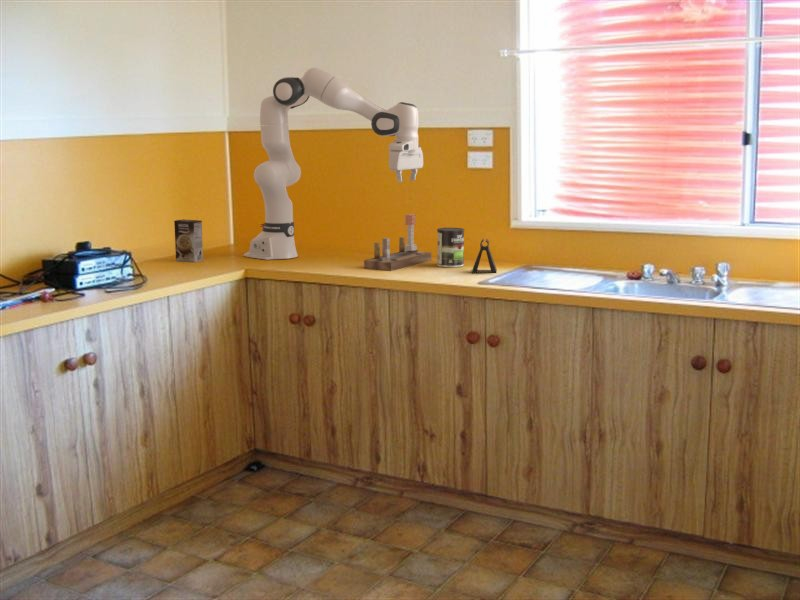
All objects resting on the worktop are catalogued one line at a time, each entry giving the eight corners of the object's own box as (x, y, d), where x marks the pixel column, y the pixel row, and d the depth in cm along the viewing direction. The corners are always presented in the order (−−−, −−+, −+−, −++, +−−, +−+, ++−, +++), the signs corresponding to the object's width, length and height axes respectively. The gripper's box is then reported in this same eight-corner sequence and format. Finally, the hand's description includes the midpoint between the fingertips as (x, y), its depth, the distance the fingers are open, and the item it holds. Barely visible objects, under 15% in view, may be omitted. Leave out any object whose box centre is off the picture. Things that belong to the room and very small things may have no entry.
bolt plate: (364, 268, 371) (364, 239, 369) (405, 257, 396) (405, 230, 394) (391, 270, 365) (391, 241, 363) (431, 260, 390) (431, 232, 388)
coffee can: (469, 265, 376) (469, 229, 373) (450, 268, 370) (450, 231, 367) (450, 262, 384) (451, 226, 381) (431, 265, 377) (431, 228, 374)
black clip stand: (496, 271, 364) (497, 238, 362) (496, 273, 358) (496, 241, 356) (472, 270, 365) (472, 238, 363) (471, 273, 359) (471, 240, 357)
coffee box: (175, 261, 389) (173, 220, 386) (184, 258, 395) (182, 218, 392) (194, 262, 386) (193, 221, 383) (203, 260, 392) (202, 219, 389)
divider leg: (404, 250, 386) (404, 214, 384) (409, 249, 390) (409, 213, 387) (411, 251, 385) (411, 215, 382) (416, 249, 388) (416, 214, 385)
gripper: (413, 144, 391) (413, 179, 393) (386, 145, 374) (385, 182, 376) (427, 144, 387) (426, 180, 390) (400, 146, 370) (399, 183, 373)
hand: (406, 181), depth 383 cm, fingers open, 8 cm apart
